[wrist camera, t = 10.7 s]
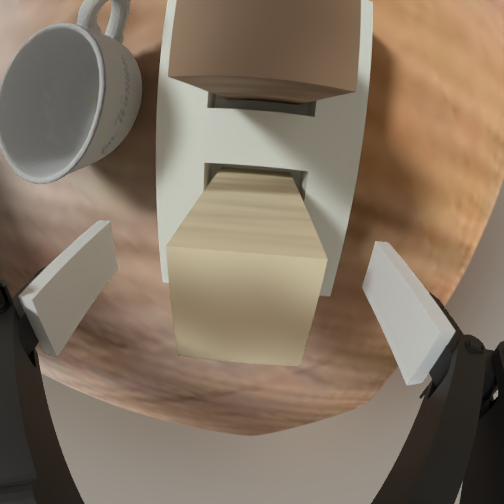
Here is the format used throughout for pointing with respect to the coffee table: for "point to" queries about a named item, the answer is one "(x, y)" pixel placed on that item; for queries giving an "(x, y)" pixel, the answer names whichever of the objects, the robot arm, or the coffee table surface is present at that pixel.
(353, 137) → the bore block
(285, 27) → the walnut pin
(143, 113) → the coffee table surface
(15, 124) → the teacup
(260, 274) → the pin
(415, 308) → the robot arm
